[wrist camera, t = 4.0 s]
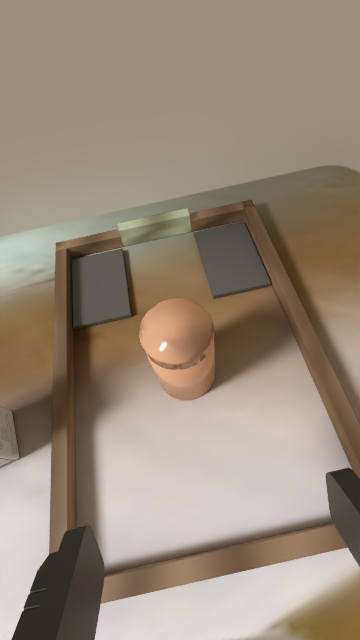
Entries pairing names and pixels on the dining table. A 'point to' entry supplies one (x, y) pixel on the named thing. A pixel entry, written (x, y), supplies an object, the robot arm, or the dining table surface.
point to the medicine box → (7, 438)
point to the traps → (111, 282)
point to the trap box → (120, 584)
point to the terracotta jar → (180, 347)
